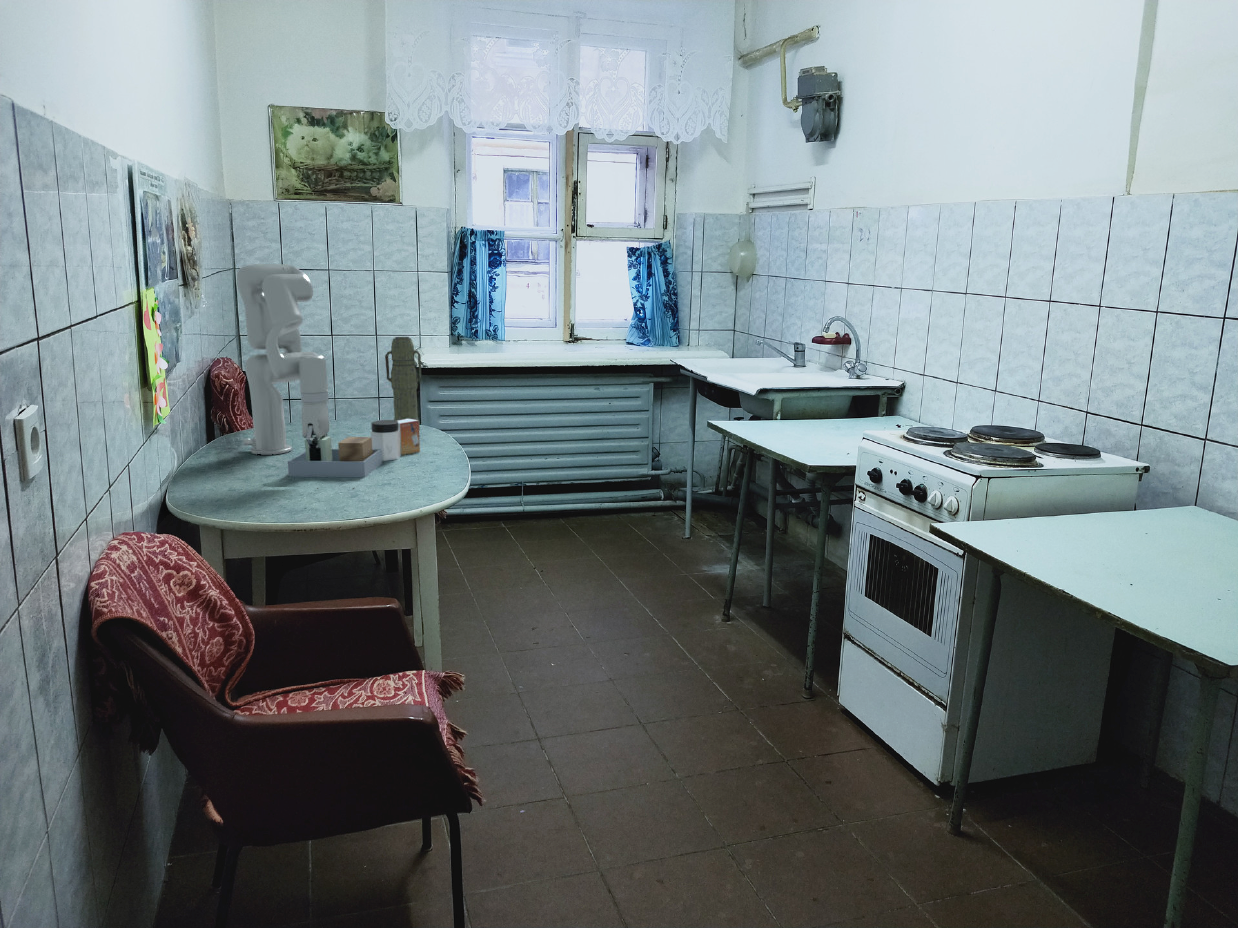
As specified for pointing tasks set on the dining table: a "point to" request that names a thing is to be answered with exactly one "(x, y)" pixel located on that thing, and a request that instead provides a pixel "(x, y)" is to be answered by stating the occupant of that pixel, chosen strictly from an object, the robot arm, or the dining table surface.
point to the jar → (386, 438)
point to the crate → (334, 466)
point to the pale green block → (325, 449)
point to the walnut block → (355, 448)
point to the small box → (409, 436)
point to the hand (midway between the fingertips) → (319, 458)
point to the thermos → (404, 378)
